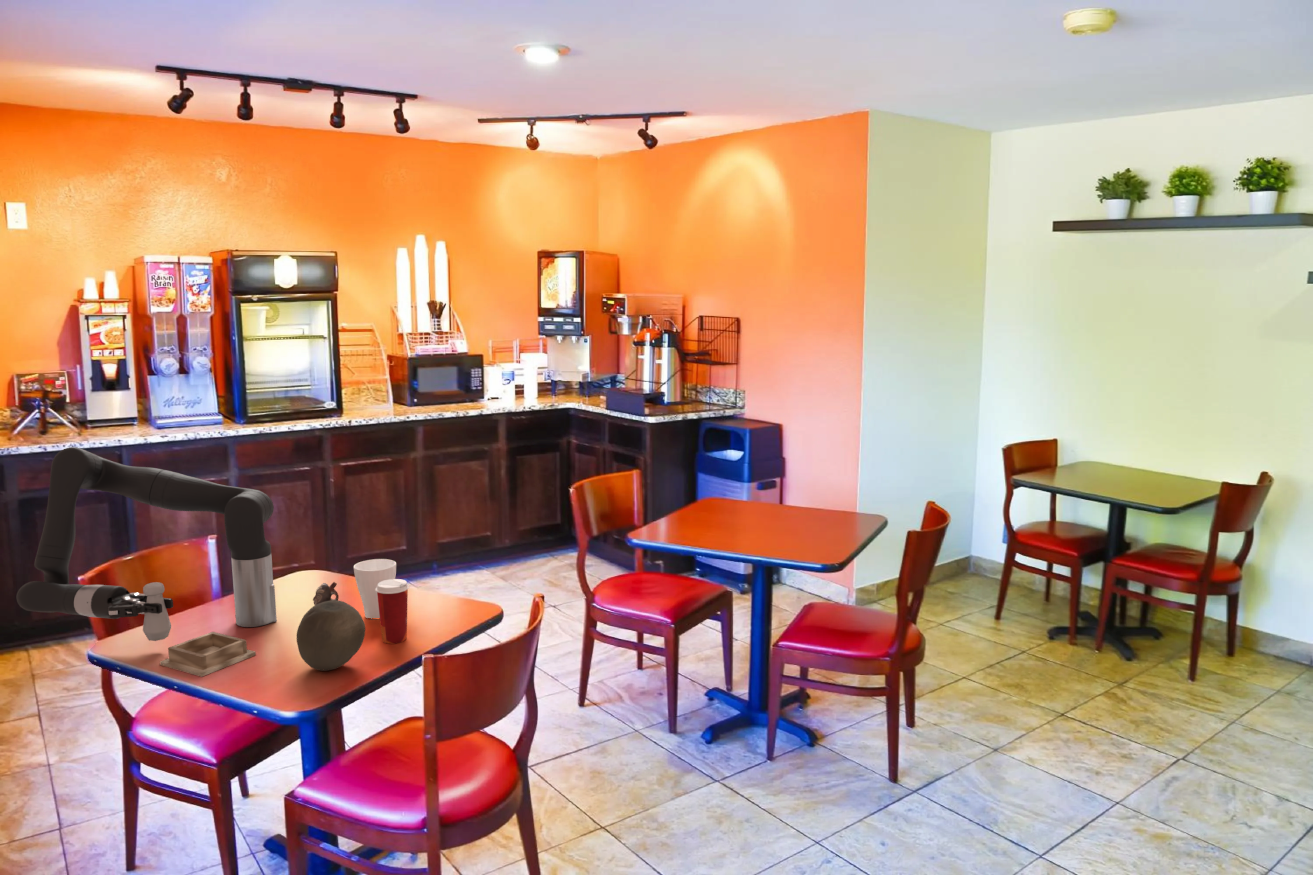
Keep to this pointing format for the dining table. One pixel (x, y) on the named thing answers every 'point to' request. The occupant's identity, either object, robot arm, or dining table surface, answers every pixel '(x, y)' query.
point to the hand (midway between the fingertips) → (166, 605)
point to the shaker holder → (207, 654)
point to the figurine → (325, 593)
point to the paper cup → (393, 609)
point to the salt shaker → (156, 623)
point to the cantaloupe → (330, 635)
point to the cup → (372, 582)
